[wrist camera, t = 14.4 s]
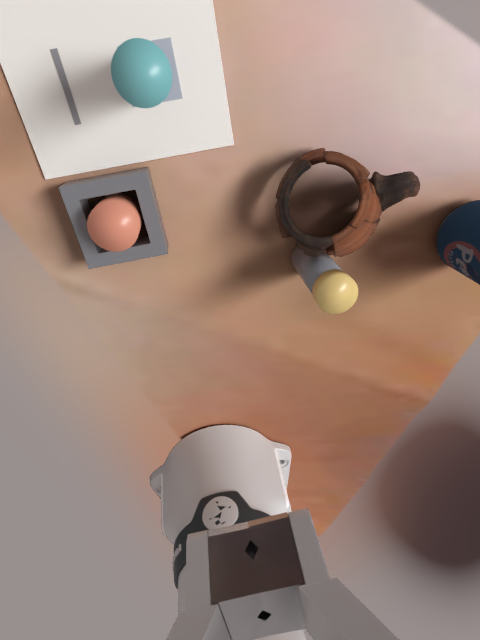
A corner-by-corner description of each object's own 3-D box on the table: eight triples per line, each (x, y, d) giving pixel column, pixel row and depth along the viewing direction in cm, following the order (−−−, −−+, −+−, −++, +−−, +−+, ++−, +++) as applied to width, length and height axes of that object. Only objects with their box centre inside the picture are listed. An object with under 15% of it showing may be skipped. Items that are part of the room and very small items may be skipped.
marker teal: (175, 98, 31) (175, 106, 23) (131, 100, 31) (117, 109, 23) (169, 46, 29) (168, 37, 22) (123, 47, 29) (104, 38, 21)
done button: (148, 233, 36) (144, 246, 32) (104, 242, 35) (96, 255, 32) (135, 189, 34) (130, 198, 30) (89, 197, 33) (79, 207, 30)
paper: (233, 144, 33) (234, 144, 33) (46, 179, 33) (45, 179, 33) (206, -41, 27) (206, -42, 27) (-24, -3, 27) (-26, -3, 27)
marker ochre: (324, 268, 40) (358, 309, 32) (292, 275, 40) (318, 318, 32) (322, 237, 38) (358, 271, 31) (288, 244, 38) (315, 280, 31)
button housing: (168, 244, 37) (167, 253, 35) (94, 259, 37) (88, 269, 34) (148, 166, 33) (145, 171, 31) (66, 182, 33) (58, 187, 31)
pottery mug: (303, 270, 41) (290, 275, 33) (272, 182, 40) (251, 167, 32) (425, 225, 37) (442, 219, 29) (393, 127, 36) (402, 94, 28)
